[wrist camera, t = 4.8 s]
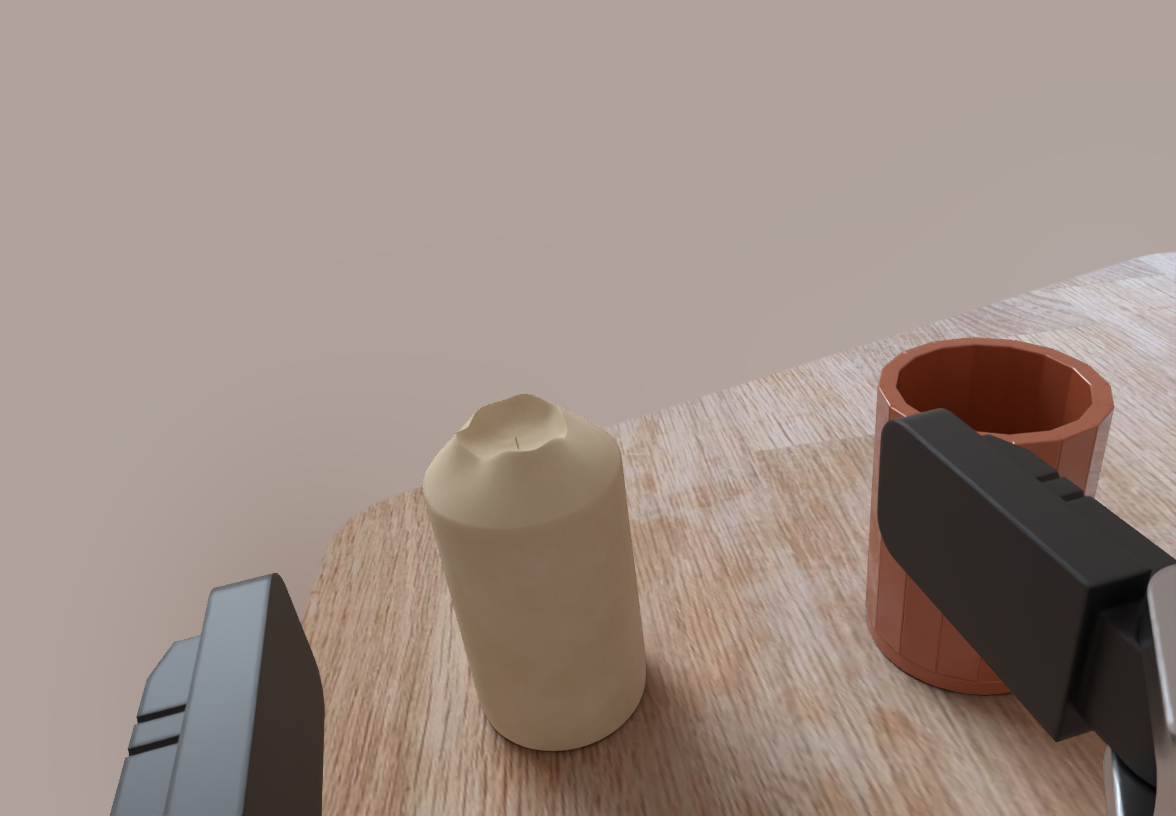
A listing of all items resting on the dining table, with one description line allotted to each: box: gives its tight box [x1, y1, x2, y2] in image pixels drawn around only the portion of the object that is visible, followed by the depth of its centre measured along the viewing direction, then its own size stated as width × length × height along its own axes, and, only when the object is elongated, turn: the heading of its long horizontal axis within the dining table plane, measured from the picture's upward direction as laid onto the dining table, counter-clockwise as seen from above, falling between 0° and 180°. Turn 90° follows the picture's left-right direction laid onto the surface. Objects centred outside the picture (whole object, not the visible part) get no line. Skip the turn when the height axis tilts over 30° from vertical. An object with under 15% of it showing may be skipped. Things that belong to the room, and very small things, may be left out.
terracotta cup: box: [866, 338, 1114, 695], centre depth 26 cm, size 6×6×9 cm
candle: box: [423, 394, 646, 751], centre depth 26 cm, size 6×6×10 cm
